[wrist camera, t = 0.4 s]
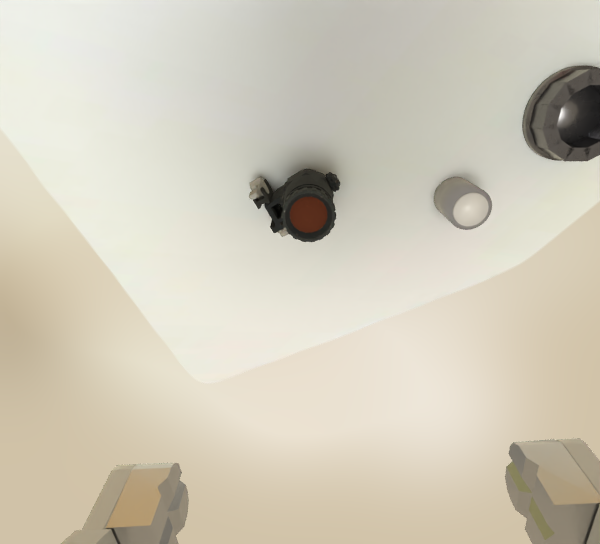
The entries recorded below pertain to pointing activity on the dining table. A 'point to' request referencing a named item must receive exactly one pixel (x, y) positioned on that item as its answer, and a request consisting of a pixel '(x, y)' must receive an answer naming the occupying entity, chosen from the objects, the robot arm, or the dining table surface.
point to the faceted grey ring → (565, 115)
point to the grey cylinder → (462, 203)
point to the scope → (299, 204)
